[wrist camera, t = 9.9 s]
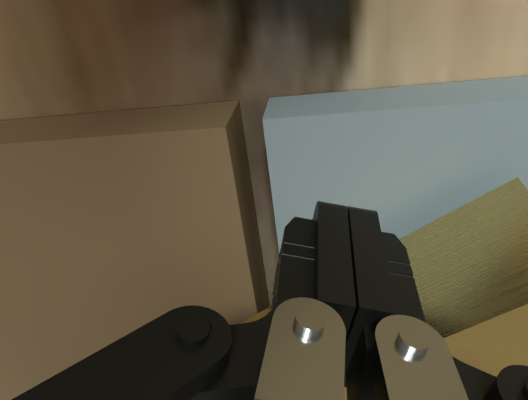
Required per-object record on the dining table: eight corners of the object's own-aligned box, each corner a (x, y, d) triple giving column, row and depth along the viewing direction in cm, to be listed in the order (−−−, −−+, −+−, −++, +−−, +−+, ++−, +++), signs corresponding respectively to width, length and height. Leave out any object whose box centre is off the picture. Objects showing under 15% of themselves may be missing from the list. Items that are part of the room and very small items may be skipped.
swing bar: (199, 432, 19) (164, 575, 15) (112, 365, 18) (46, 503, 13) (576, 275, 13) (700, 437, 9) (500, 148, 12) (608, 275, 7)
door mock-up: (-129, 131, 17) (-329, 217, 12) (858, 47, 12) (1261, 130, 7) (56, 448, 27) (-7, 571, 21) (640, 470, 22) (738, 634, 17)
